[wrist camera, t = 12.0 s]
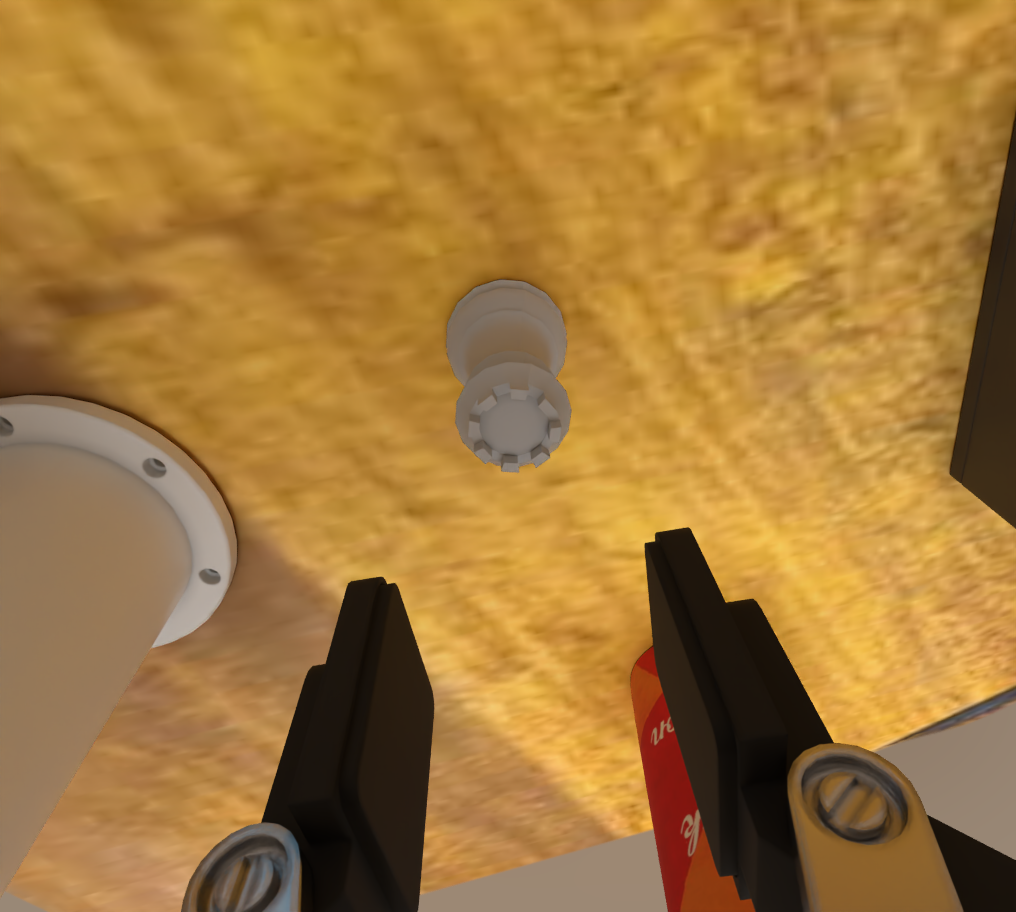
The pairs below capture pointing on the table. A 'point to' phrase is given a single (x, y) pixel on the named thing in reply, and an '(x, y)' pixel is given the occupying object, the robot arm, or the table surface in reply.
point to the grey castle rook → (509, 373)
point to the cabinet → (993, 373)
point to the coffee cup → (676, 806)
